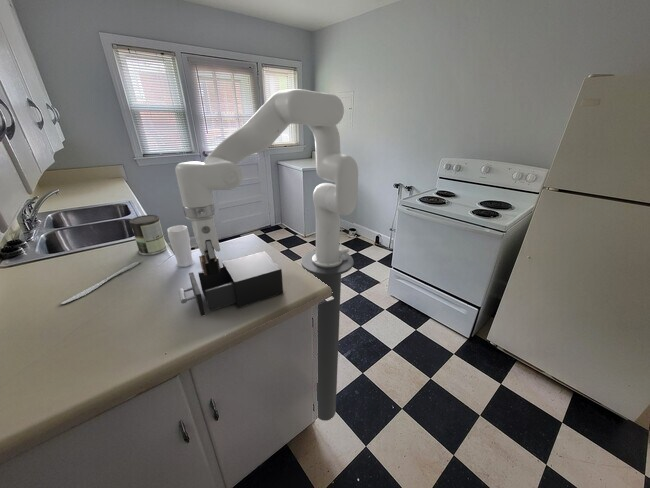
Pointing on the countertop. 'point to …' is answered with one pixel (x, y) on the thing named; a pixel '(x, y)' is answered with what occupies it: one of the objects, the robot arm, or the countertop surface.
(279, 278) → the cabinet
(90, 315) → the countertop surface
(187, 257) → the drinking glass
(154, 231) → the coffee can
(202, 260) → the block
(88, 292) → the butter knife
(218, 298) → the drawer
